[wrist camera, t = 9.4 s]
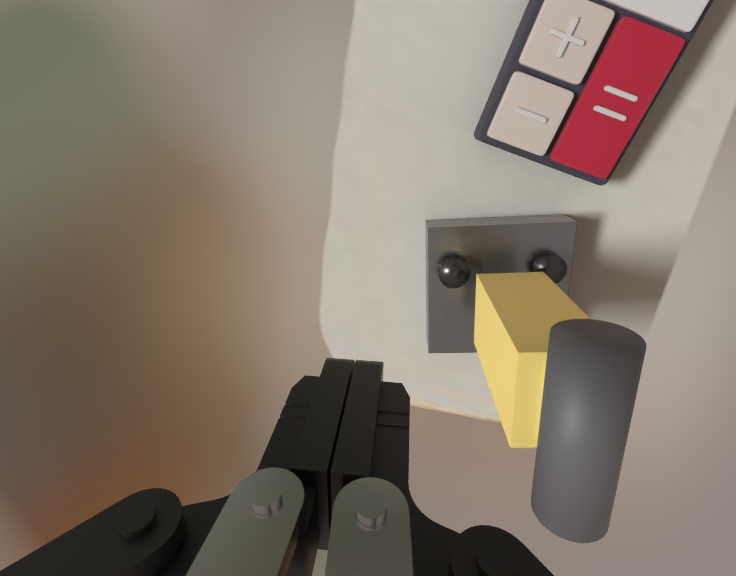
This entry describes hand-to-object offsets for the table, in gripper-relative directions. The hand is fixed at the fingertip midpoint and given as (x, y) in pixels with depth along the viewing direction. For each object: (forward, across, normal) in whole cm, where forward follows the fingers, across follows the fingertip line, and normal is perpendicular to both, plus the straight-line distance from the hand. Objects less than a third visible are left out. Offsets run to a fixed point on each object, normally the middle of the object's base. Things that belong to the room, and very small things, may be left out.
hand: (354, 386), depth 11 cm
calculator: (+29, -14, -9) cm, 34 cm away
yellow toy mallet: (+23, -9, +8) cm, 26 cm away
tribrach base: (+27, -9, +8) cm, 30 cm away
